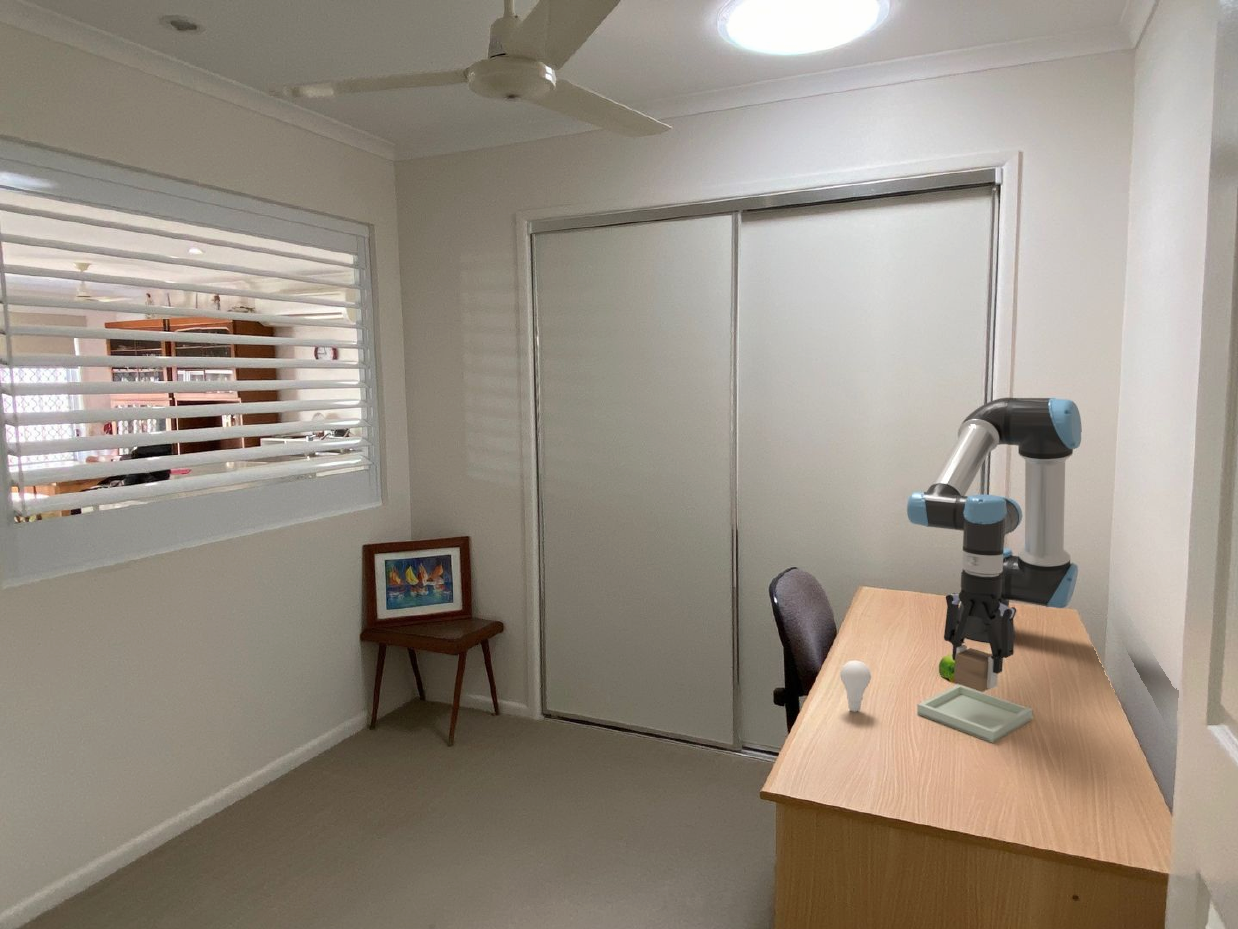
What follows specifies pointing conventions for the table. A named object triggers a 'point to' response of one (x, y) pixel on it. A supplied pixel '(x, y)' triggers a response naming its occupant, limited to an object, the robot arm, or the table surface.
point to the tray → (975, 713)
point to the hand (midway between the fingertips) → (975, 681)
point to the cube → (972, 669)
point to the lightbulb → (855, 682)
